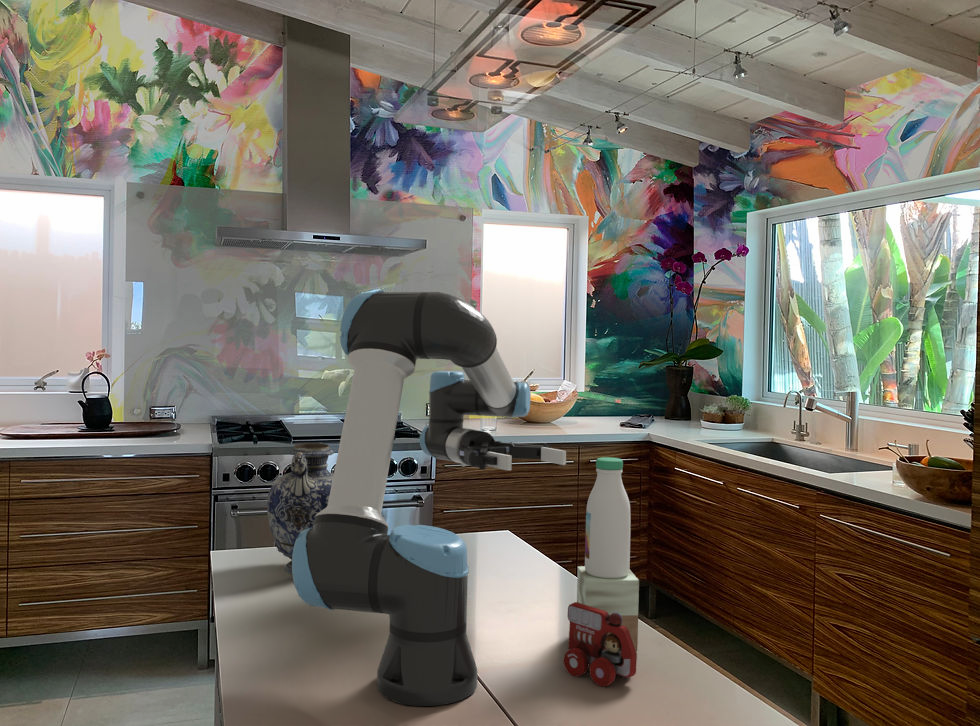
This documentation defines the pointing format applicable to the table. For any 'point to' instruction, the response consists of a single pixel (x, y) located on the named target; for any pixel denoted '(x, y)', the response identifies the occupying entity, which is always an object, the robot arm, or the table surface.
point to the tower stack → (611, 597)
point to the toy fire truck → (599, 645)
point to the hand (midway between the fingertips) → (538, 460)
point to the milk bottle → (608, 523)
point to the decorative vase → (299, 496)
